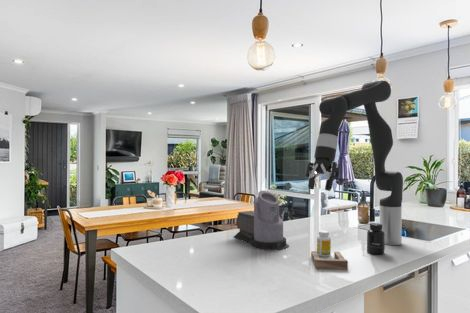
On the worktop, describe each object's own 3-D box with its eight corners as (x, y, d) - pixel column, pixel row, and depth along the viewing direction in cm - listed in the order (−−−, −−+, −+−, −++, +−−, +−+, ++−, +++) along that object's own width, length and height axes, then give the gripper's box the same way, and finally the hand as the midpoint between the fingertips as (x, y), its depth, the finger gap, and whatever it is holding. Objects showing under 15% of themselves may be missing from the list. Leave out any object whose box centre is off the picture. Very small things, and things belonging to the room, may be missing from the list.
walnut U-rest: (311, 257, 129) (311, 249, 129) (339, 258, 127) (339, 250, 127) (316, 268, 115) (316, 260, 115) (347, 269, 114) (347, 261, 114)
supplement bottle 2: (374, 255, 130) (374, 226, 130) (363, 251, 137) (363, 222, 137) (388, 254, 132) (388, 225, 132) (377, 249, 139) (376, 222, 139)
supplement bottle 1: (314, 254, 132) (314, 231, 132) (320, 252, 136) (320, 229, 136) (326, 257, 128) (326, 233, 128) (332, 254, 132) (332, 231, 132)
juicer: (295, 247, 143) (295, 192, 143) (267, 253, 135) (267, 194, 135) (255, 233, 168) (255, 187, 168) (229, 238, 160) (229, 188, 160)
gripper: (347, 149, 118) (340, 193, 115) (319, 150, 130) (312, 190, 128) (333, 144, 114) (326, 189, 112) (305, 146, 126) (298, 186, 124)
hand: (319, 189), depth 120 cm, fingers open, 8 cm apart
